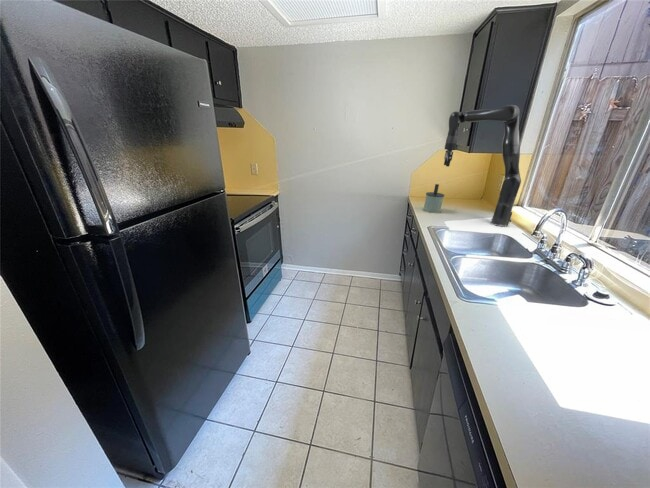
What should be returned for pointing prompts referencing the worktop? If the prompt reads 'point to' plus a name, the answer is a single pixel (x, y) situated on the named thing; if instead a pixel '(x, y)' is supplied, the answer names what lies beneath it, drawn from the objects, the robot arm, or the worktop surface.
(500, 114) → the robot arm
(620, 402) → the worktop surface
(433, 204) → the teal cylindrical pot
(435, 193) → the lid
